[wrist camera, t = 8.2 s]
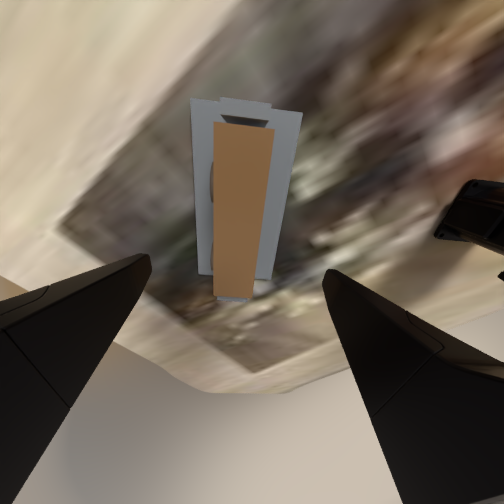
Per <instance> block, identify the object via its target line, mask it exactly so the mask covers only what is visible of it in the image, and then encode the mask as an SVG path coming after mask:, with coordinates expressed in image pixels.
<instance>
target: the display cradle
mask: <svg viewBox="0 0 504 504" xmlns="http://www.w3.org/2000/svg"><path fill="white" fill-rule="evenodd" d="M190 102H191V123H192V144H193V165H194V186H195V207H196V228H197V249H198V270H199V274H203V275H213V271H212V270H211V266H210V259H211V248H212V243H213V203H212V202H211V198H210V171H211V165H212V162H213V121H214V122H222V123H230V124H238V125H246V126H254V127H261V128H269V129H275V133H274V140H273V148H272V155H271V162H270V170H269V177H268V184H267V191H266V199H265V206H264V213H263V221H262V228H261V235H260V242H259V250H258V257H257V264H256V272H255V279H268V280H271V276H272V271H273V265H274V260H275V255H276V250H277V245H278V239H279V234H280V229H281V224H282V219H283V214H284V208H285V203H286V198H287V193H288V188H289V182H290V177H291V172H292V167H293V162H294V157H295V151H296V146H297V141H298V136H299V131H300V125H301V120H302V115H303V113H300V112H292V111H285V110H277V109H271V104H269V103H262V102H254V101H247V100H240V99H232V98H225V97H220V102H218V101H210V100H203V99H195V98H190ZM217 300H222V301H236V302H247V298H239V297H224V296H217Z"/></svg>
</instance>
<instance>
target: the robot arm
mask: <svg viewBox="0 0 504 504" xmlns="http://www.w3.org/2000/svg"><path fill="white" fill-rule="evenodd" d="M434 237H435V238H437V239H443V240H454V241H464V242H472V243H475V244H477V245H479V246H482V247H484V248H487V249H489V250H492V251H494V252H496V253H499V254H501V255H504V183H502V182H494V181H486V180H477V179H472V180H470V181H469V182H468V183H467V184H466V185H465V187H464V189H463V190H462V192H461V193H460V195H459V196H458V198H457V199H456V201H455V203H454V204H453V206H452V207H451V209H450V210H449V212H448V213H447V215H446V217H445V218H444V220H443V221H442V223H441V224H440V226H439V227H438V229H437V231H436V232H435V234H434ZM151 272H152V266H151V261H150V256H149V255H148V254H142V253H139V254H136V255H133V256H130V257H127V258H125V259H122V260H119V261H116V262H113V263H110V264H107V265H105V266H102V267H99V268H96V269H93V270H90V271H87V272H85V273H82V274H79V275H76V276H73V277H70V278H68V279H65V280H62V281H59V282H56V283H53V284H51V285H50V286H49V285H47V286H45V287H42V288H39V289H36V290H33V291H30V292H27V293H24V294H21V295H19V296H15V297H12V298H9V299H6V300H3V301H0V504H12V503H13V501H14V500H15V498H16V496H17V495H18V493H19V491H20V490H21V488H22V487H23V485H24V483H25V482H26V480H27V479H28V477H29V475H30V474H31V472H32V471H33V469H34V467H35V466H36V464H37V463H38V461H39V459H40V457H41V456H42V454H43V453H44V451H45V450H46V448H47V446H48V445H49V443H50V442H51V440H52V438H53V437H54V435H55V434H56V432H57V430H58V429H59V427H60V426H61V424H62V422H63V421H64V419H65V417H66V416H67V414H68V413H69V411H70V408H71V407H72V406H73V404H74V403H75V401H76V399H77V398H78V396H79V394H80V393H81V391H82V390H83V388H84V387H85V385H86V383H87V382H88V380H89V379H90V377H91V375H92V374H93V372H94V370H95V369H96V367H97V366H98V364H99V362H100V361H101V359H102V358H103V356H104V354H105V353H106V351H107V350H108V348H109V346H110V345H111V343H112V342H113V340H114V338H115V337H116V335H117V333H118V332H119V330H120V329H121V327H122V325H123V324H124V322H125V321H126V319H127V317H128V316H129V314H130V313H131V311H132V309H133V308H134V306H135V304H136V303H137V301H138V299H139V298H140V296H141V294H142V292H143V290H144V287H145V285H146V283H147V281H148V279H149V277H150V275H151ZM497 277H498V278H500V279H501V280H503V281H504V271H503V272H501V273H500V274H499V275H498V276H497ZM322 287H323V291H324V295H325V299H326V302H327V306H328V310H329V313H330V316H331V318H332V321H333V323H334V326H335V329H336V331H337V334H338V336H339V339H340V342H341V344H342V347H343V349H344V352H345V355H346V357H347V360H348V362H349V365H350V368H351V370H352V373H353V375H354V378H355V381H356V383H357V385H358V388H359V391H360V393H361V396H362V399H363V401H364V404H365V406H366V409H367V411H368V414H369V417H370V418H371V422H372V425H373V427H374V430H375V433H376V435H377V438H378V441H379V443H380V446H381V448H382V451H383V454H384V456H385V459H386V461H387V464H388V466H389V469H390V471H391V474H392V477H393V479H394V482H395V485H396V487H397V490H398V492H399V495H400V498H401V500H402V503H403V504H504V362H501V361H499V360H497V359H495V358H493V357H491V356H489V355H487V354H485V353H483V352H481V351H479V350H478V349H476V348H474V347H472V346H470V345H468V344H466V343H464V342H462V341H460V340H459V339H457V338H455V337H453V336H451V335H449V334H447V333H445V332H444V331H442V330H440V329H438V328H436V327H434V326H433V325H431V324H429V323H427V322H425V321H424V320H422V319H420V318H418V317H417V316H415V315H413V314H411V313H410V312H408V311H405V310H404V309H403V308H401V307H399V306H398V305H396V304H394V303H392V302H391V301H389V300H387V299H386V298H384V297H382V296H380V295H379V294H377V293H375V292H374V291H372V290H370V289H368V288H367V287H365V286H363V285H362V284H360V283H358V282H356V281H355V280H353V279H351V278H350V277H348V276H346V275H344V274H343V273H341V272H339V271H337V270H335V269H328V270H327V271H326V273H325V276H324V279H323V281H322Z"/></svg>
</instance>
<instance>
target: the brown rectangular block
mask: <svg viewBox="0 0 504 504" xmlns="http://www.w3.org/2000/svg"><path fill="white" fill-rule="evenodd" d="M274 133H275V129H269V128H261V127H254V126H246V125H238V124H230V123H222V122H214V121H213V162H212V165H211V171H210V198H211V202H212V203H213V243H212V248H211V259H210V266H211V270H212V271H213V296H224V297H239V298H252V293H253V286H254V279H255V272H256V264H257V257H258V250H259V242H260V235H261V228H262V221H263V213H264V206H265V199H266V191H267V184H268V177H269V170H270V162H271V155H272V148H273V140H274Z"/></svg>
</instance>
